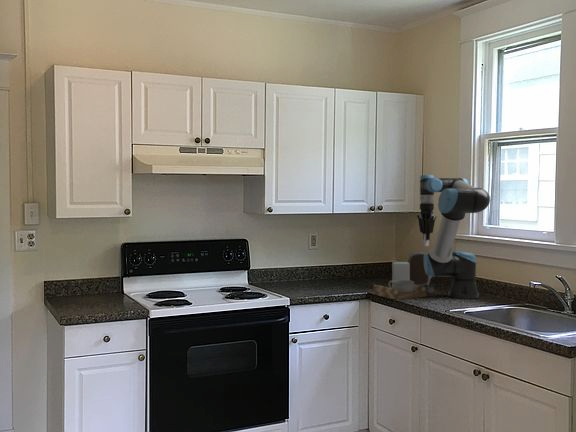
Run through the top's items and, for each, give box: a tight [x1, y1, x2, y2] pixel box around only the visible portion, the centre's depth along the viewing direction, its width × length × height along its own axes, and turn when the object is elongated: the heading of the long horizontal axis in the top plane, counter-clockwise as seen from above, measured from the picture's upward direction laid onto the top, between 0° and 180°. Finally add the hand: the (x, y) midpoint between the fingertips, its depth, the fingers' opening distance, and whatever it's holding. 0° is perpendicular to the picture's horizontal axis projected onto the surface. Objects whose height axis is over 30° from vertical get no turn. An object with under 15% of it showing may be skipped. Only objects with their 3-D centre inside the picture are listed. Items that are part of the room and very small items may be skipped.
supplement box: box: [391, 261, 410, 288], centre depth 346 cm, size 9×9×15 cm
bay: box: [373, 278, 439, 301], centre depth 327 cm, size 21×27×9 cm
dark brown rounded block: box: [407, 250, 433, 287], centre depth 361 cm, size 15×8×20 cm, turn 78°
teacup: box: [387, 280, 414, 293], centre depth 324 cm, size 14×11×8 cm
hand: (426, 245), depth 344 cm, fingers closed
